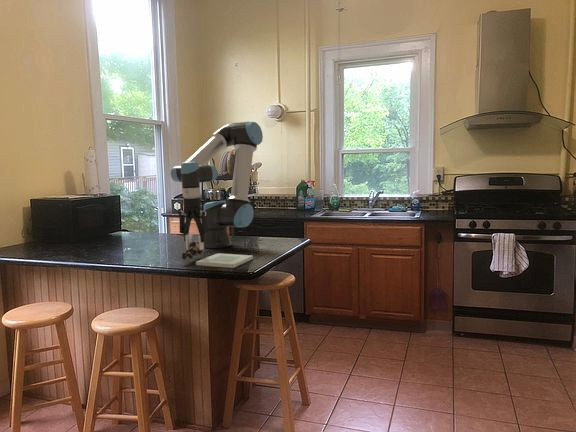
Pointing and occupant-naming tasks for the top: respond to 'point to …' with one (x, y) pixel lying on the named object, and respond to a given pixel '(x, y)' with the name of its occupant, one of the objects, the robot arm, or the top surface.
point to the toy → (192, 250)
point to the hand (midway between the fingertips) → (195, 249)
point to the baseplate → (224, 260)
